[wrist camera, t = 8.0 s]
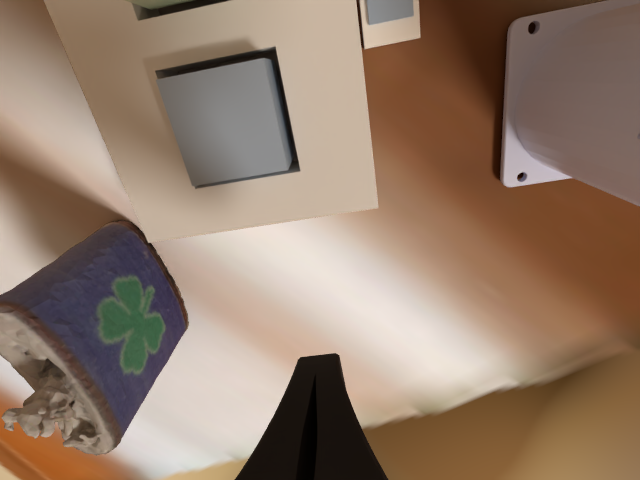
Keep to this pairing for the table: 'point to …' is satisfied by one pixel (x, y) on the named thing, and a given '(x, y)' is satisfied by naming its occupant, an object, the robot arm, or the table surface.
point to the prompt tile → (389, 21)
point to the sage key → (157, 3)
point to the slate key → (229, 121)
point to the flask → (91, 337)
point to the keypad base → (215, 51)
